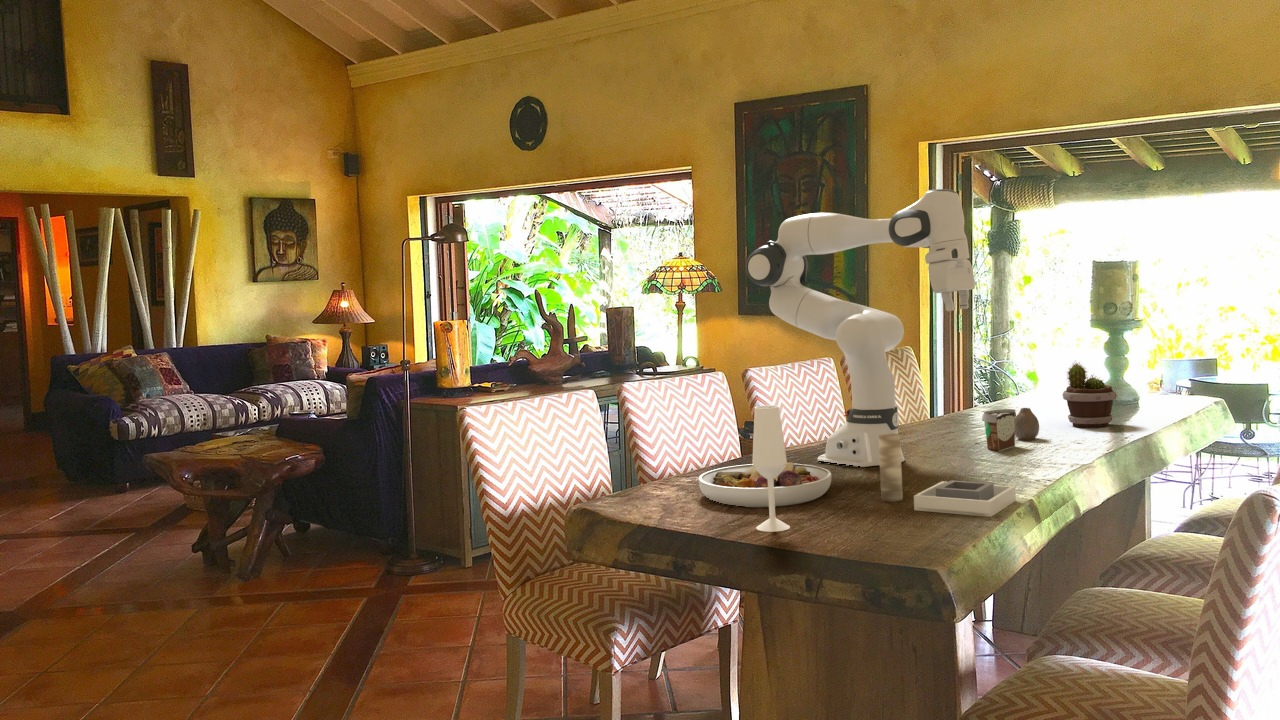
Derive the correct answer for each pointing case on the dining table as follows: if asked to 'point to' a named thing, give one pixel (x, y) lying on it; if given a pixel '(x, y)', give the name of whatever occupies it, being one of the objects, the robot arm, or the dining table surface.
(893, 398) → the robot arm
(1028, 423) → the vase
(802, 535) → the dining table surface
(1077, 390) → the flowerpot
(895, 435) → the peg
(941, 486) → the tray
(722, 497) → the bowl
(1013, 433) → the food container
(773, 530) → the champagne flute
